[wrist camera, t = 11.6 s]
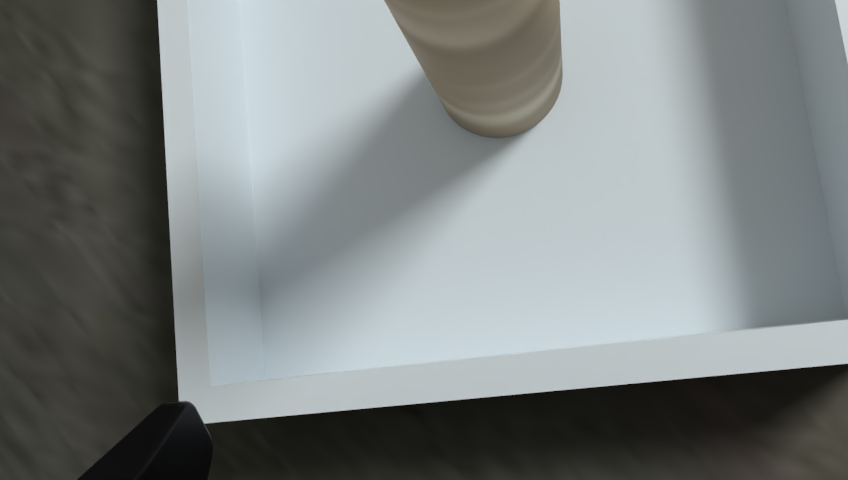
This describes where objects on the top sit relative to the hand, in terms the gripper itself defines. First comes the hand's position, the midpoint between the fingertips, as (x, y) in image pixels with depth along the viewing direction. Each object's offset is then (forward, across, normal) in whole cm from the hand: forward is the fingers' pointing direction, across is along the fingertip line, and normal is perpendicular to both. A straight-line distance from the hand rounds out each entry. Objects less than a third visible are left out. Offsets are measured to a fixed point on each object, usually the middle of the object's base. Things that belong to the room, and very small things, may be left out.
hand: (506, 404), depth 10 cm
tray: (+12, 0, 0) cm, 12 cm away
